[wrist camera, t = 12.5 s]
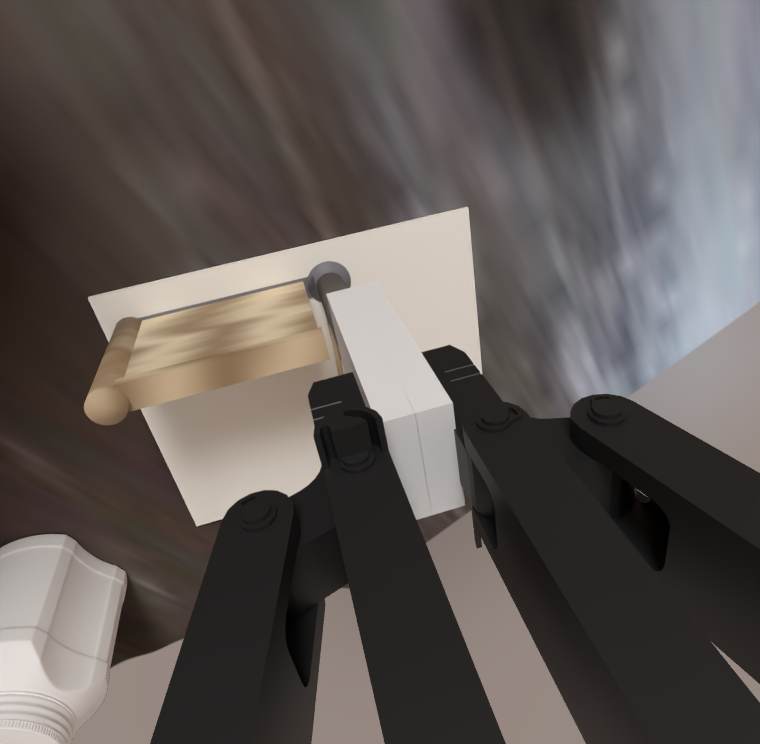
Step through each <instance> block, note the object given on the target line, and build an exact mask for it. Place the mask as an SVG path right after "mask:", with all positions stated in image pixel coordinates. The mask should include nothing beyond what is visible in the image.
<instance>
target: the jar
mask: <svg viewBox="0 0 760 744" xmlns="http://www.w3.org/2000/svg"><path fill="white" fill-rule="evenodd" d="M126 588H127V575H126V572H125V571H124V570H122V569H121V568H119V567H118V566H116V565H112V564H109V563H107V562H104V561H102V560H100V559H98V558H96V557H94V556H93V555H91V554H90V553H88V552H87V551H86V550H85V549H83V548H82V547H81V546H80V545H79V544H78V542H77V541H76V540H74V539H73V538H71V537H69V536H68V535H63V534H44V535H35V536H30V537H26V538H22V539H19V540H16V541H13V542H11V543H9V544H7V545H5V546H3V547H1V548H0V744H71V742H72V739H73V735H74V734H75V732H76V731H77V730H78V729H79V728H80V727H81V726H82V725H83V724H84V723H85V722H86V721H87V720H88V719H89V718H90V717H91V716H92V715H93V714H94V713H95V712H96V711H97V710H98V709H99V707H100V706H101V704H102V703H103V701H104V699H105V696H106V693H107V689H108V683H109V676H110V675H109V671H110V665H111V660H112V655H113V650H114V644H115V639H116V634H117V629H118V624H119V618H120V613H121V608H122V604H123V602H124V598H125V593H126Z"/></svg>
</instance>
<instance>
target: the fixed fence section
mask: <svg viewBox="0 0 760 744" xmlns="http://www.w3.org/2000/svg"><path fill="white" fill-rule="evenodd" d="M329 359H330V358H329V354H328V350H327V346H326V342H325V338H324V334H323V331H322V328H321V327H320V328H318V327H317V324H316V321H315V318H314V314H313V311H312V308H311V305H310V302H309V298H308V295H307V292H306V289H305V286H304V283H303V281H302V282H298V283H294V284H290V285H285V286H281V287H277V288H273V289H269V290H265V291H261V292H257V293H253V294H249V295H245V296H240V297H236V298H232V299H228V300H224V301H220V302H216V303H212V304H208V305H204V306H200V307H195V308H191V309H187V310H183V311H179V312H175V313H171V314H167V315H163V316H159V317H155V318H150V319H146V320H140V319H138V318H135V317H126V318H123V319H121V320H120V321H118V323H117V324H116V326H115V329H114V331H113V334H112V336H111V339H110V341H109V344H108V346H107V349H106V351H105V354H104V356H103V359H102V361H101V364H100V366H99V369H98V371H97V374H96V376H95V378H94V381H93V383H92V386H91V388H90V391H89V393H88V396H87V398H86V401H85V404H84V410H85V413H86V415H87V416H88V418H90V419H91V420H92V421H94V422H96V423H98V424H102V425H113V424H117V423H119V422H121V421H122V420H123V419H124V418H125V417H126V415H127V412H130V411H134V410H138V409H142V408H145V407H149V406H153V405H157V404H161V403H165V402H168V401H172V400H176V399H180V398H184V397H188V396H191V395H195V394H199V393H203V392H207V391H211V390H214V389H218V388H222V387H226V386H230V385H234V384H237V383H241V382H245V381H249V380H253V379H257V378H260V377H264V376H268V375H272V374H276V373H280V372H283V371H287V370H291V369H295V368H299V367H303V366H306V365H310V364H314V363H318V362H322V361H326V360H329Z"/></svg>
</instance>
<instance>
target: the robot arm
mask: <svg viewBox="0 0 760 744" xmlns="http://www.w3.org/2000/svg"><path fill="white" fill-rule="evenodd" d="M326 295H327V300H328V304H329V308H330V312H331V317H332V321H333V325H334V329H335V334H336V338H337V342H338V346H339V351H340V355H341V359H342V364H343V368H344V372H345V374H343V375H339V376H335V377H332V378H328V379H324V380H320V381H317V382H313V384H312V387H311V389H310V391H309V394H308V399H309V404H310V408H311V413H312V417H313V422H314V426H315V428H314V435H313V437H314V441H315V444H316V448H317V451H318V455H319V458H320V461H321V465H322V466H321V469H320V472H319V473H318V475H317V476H316V478H315V479H314V480H313V481H312V482H311V483H310V484H309V485H308V486H306V487H305V488H303V489H302V490H300V491H299V492H297V493H295V494H293V495H292V496H290V497H288V495H287V494H284V493H282V492H279V491H277V490H263V491H259V492H255V493H251V494H249V495H247V496H245V497H243V498H241V499H240V500H238V501H237V502H236V503H235V504H234V505H233V506H231V507H230V508H229V509H228V511H227V512H226V514H225V516H224V518H223V520H222V522H221V525H220V528H219V531H218V535H217V538H216V541H215V544H214V547H213V550H212V553H211V556H210V559H209V563H208V566H207V569H206V572H205V575H204V578H203V581H202V584H201V587H200V590H199V594H198V597H197V600H196V603H195V606H194V609H193V612H192V615H191V618H190V621H189V625H188V628H187V631H186V634H185V637H184V640H183V643H182V646H181V650H180V653H179V656H178V659H177V662H176V665H175V668H174V671H173V674H172V678H171V681H170V684H169V687H168V690H167V693H166V696H165V699H164V702H163V705H162V709H161V712H160V715H159V718H158V721H157V724H156V727H155V730H154V733H153V737H152V739H151V743H150V744H311V741H312V731H313V721H314V711H315V701H316V691H317V681H318V672H319V662H320V652H321V642H322V632H323V621H324V612H325V598H326V597H327V596H329V595H330V594H332V593H334V592H335V591H337V590H338V589H340V588H341V587H343V586H344V585H346V584H347V583H349V587H350V592H351V596H352V600H353V605H354V609H355V614H356V618H357V623H358V627H359V631H360V636H361V640H362V645H363V649H364V653H365V658H366V662H367V667H368V671H369V676H370V680H371V685H372V689H373V693H374V698H375V702H376V706H377V711H378V715H379V720H380V725H381V729H382V733H383V737H384V742H385V744H506V743H505V741H504V738H503V736H502V734H501V731H500V729H499V726H498V723H497V721H496V718H495V716H494V713H493V711H492V708H491V706H490V703H489V701H488V698H487V696H486V693H485V691H484V688H483V686H482V683H481V681H480V678H479V676H478V673H477V671H476V668H475V666H474V663H473V661H472V658H471V656H470V653H469V651H468V648H467V646H466V643H465V641H464V638H463V636H462V633H461V631H460V629H459V626H458V623H457V621H456V618H455V616H454V613H453V611H452V608H451V605H450V603H449V601H448V598H447V596H446V593H445V590H444V588H443V586H442V583H441V580H440V578H439V575H438V573H437V570H436V568H435V566H434V563H433V560H432V558H431V555H430V553H429V550H428V548H427V546H426V543H425V540H424V538H423V535H422V533H421V530H420V528H419V525H418V523H417V520H418V519H421V518H424V517H428V516H431V515H434V514H438V513H441V512H444V511H448V510H451V509H455V508H458V507H461V506H465V501H464V492H463V489H464V491H465V493H466V494H467V496H468V498H469V500H470V502H471V509H472V518H473V526H474V535H475V542H476V547H477V548H480V547H482V543H481V538H482V540H483V541H484V544H485V546H486V548H487V550H488V552H489V554H490V555H491V558H492V560H493V561H494V563H495V565H496V567H497V569H498V571H499V573H500V575H501V577H502V579H503V581H504V583H505V585H506V587H507V589H508V591H509V593H510V595H511V597H512V599H513V601H514V603H515V605H516V607H517V609H518V611H519V613H520V615H521V617H522V618H523V621H524V622H525V624H526V626H527V628H528V630H529V632H530V634H531V636H532V638H533V640H534V642H535V644H536V646H537V648H538V650H539V652H540V654H541V656H542V658H543V660H544V662H545V663H546V666H547V668H548V670H549V672H550V674H551V676H552V678H553V679H554V681H555V684H556V685H557V687H558V689H559V691H560V693H561V695H562V697H563V699H564V701H565V703H566V705H567V707H568V709H569V711H570V713H571V715H572V717H573V719H574V721H575V723H576V725H577V727H578V729H579V731H580V733H581V734H582V737H583V739H584V741H585V743H586V744H760V703H759V701H758V700H757V699H756V698H755V696H754V695H753V694H752V693H751V691H750V690H749V689H748V688H747V686H746V685H745V684H744V683H743V681H742V680H741V679H740V678H739V676H738V675H737V674H736V673H735V672H734V670H733V669H732V668H731V667H730V665H729V664H728V663H727V661H726V660H725V659H724V658H723V656H722V655H721V654H720V653H719V651H718V650H717V649H716V648H715V646H714V645H713V644H715V645H716V646H717V647H718V648H719V649H720V650H721V651H723V652H724V653H725V654H726V655H727V656H728V657H730V658H731V659H732V660H733V661H734V662H735V663H736V664H738V665H739V666H740V667H741V668H742V669H743V670H744V671H745V672H747V673H748V674H749V675H750V676H751V677H753V678H754V679H755V680H756V681H757V682H758V683H759V684H760V473H759V472H756V471H755V470H753V469H752V468H750V467H748V466H746V465H745V464H743V463H741V462H739V461H737V460H736V459H734V458H732V457H730V456H728V455H727V454H725V453H723V452H722V451H720V450H718V449H716V448H714V447H713V446H711V445H709V444H708V443H705V442H704V441H702V440H700V439H699V438H697V437H695V436H693V435H692V434H690V433H688V432H686V431H684V430H683V429H681V428H679V427H677V426H676V425H674V424H672V423H670V422H669V421H667V420H665V419H664V418H662V417H660V416H658V415H656V414H655V413H653V412H651V411H649V410H648V409H646V408H644V407H642V406H640V405H639V404H637V403H635V402H634V401H631V400H629V399H626V398H624V397H621V396H616V395H610V394H599V395H591V396H588V397H585V398H582V399H580V400H579V401H578V402H576V403H575V404H574V405H573V407H572V409H571V412H570V418H553V419H536V418H531V417H530V416H529V415H528V414H527V412H525V411H524V410H523V409H522V408H520V407H519V406H517V405H514V404H511V403H508V402H503V401H502V400H501V398H500V397H499V396H498V395H497V393H496V392H495V391H494V389H493V388H492V387H491V385H490V384H489V383H488V382H487V380H486V379H485V378H484V376H483V375H482V374H480V371H479V370H478V369H477V367H476V366H475V365H474V364H473V362H472V361H471V359H470V358H469V357H468V355H467V354H466V353H465V352H464V351H462V350H460V349H458V348H455V347H453V346H451V345H447V346H443V347H439V348H436V349H432V350H428V351H424V352H421V351H420V350H419V348H418V346H417V345H416V343H415V342H414V340H413V338H412V337H411V335H410V334H409V332H408V330H407V329H406V327H405V326H404V324H403V322H402V321H401V319H400V318H399V316H398V314H397V313H396V311H395V310H394V308H393V306H392V305H391V303H390V302H389V300H388V298H387V297H386V295H385V294H384V292H383V290H382V289H381V287H380V286H379V284H378V282H377V281H376V282H372V283H368V284H364V285H360V286H356V287H352V288H348V289H344V290H339V291H335V292H331V293H327V294H326ZM637 489H638V490H639V491H641V492H642V493H643V494H645V495H646V496H645V495H643V494H642V493H640V492H639V491H638V490H637ZM647 496H648V497H647ZM710 641H711V642H712V643H713V644H712V643H711V642H710Z"/></svg>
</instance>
